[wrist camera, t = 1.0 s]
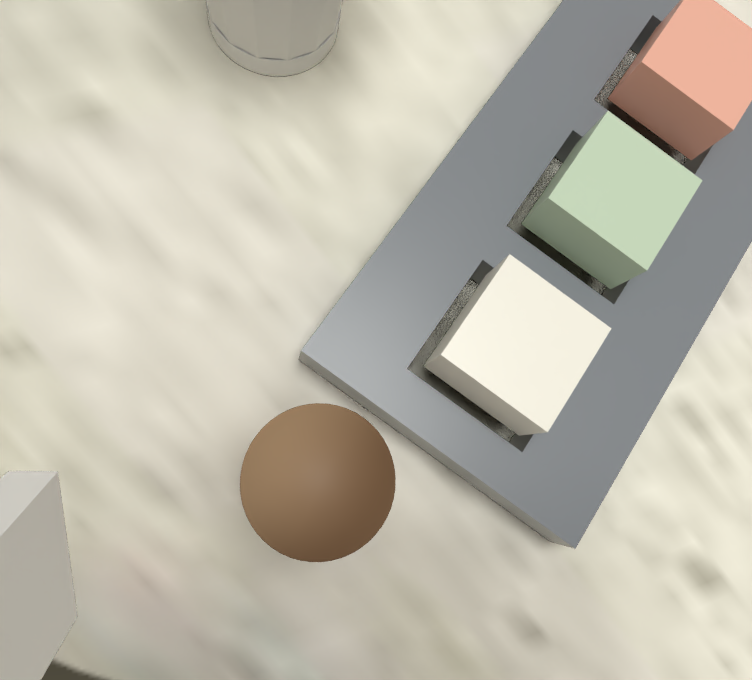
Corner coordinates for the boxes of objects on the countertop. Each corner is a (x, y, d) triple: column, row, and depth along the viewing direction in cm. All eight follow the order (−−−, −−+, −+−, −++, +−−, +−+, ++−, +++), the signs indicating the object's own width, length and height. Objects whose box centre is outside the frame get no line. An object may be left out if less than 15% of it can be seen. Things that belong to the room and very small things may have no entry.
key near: (423, 366, 28) (440, 354, 25) (485, 275, 29) (509, 254, 26) (518, 435, 28) (547, 432, 25) (577, 342, 29) (611, 328, 26)
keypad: (298, 359, 30) (301, 350, 27) (584, -24, 36) (607, -59, 33) (550, 541, 30) (575, 548, 27) (791, 130, 36) (829, 105, 34)
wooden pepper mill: (233, 485, 28) (207, 501, 17) (290, 409, 29) (302, 373, 17) (310, 540, 28) (336, 594, 17) (363, 462, 29) (424, 461, 18)
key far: (607, 98, 32) (641, 61, 29) (656, 27, 33) (693, -15, 30) (691, 160, 32) (733, 129, 29) (737, 87, 33) (781, 51, 30)
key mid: (521, 224, 30) (548, 197, 27) (576, 143, 31) (607, 110, 28) (610, 289, 30) (647, 270, 27) (662, 207, 31) (702, 180, 28)
